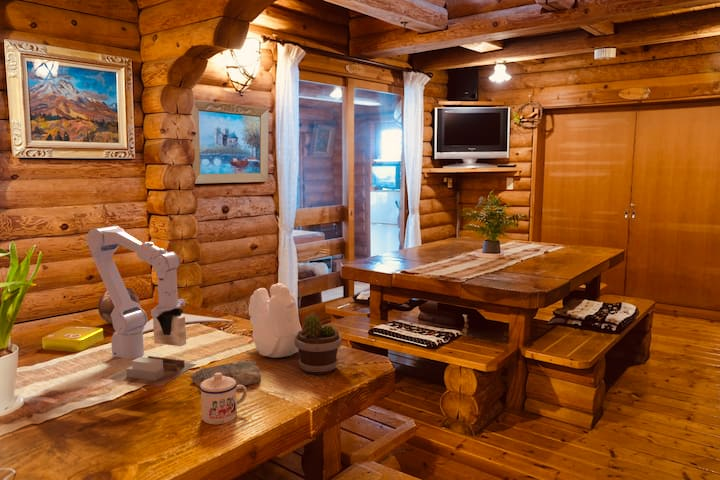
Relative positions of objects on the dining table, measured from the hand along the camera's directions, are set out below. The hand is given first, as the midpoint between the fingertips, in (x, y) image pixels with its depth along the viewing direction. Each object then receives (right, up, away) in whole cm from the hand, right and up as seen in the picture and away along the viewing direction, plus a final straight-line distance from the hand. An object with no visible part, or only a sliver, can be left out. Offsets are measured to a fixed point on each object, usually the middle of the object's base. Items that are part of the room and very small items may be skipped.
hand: (170, 333), depth 179 cm
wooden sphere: (-34, -4, +45) cm, 57 cm away
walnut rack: (-3, -12, -7) cm, 13 cm away
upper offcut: (-3, -9, -11) cm, 14 cm away
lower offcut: (-4, -11, -11) cm, 16 cm away
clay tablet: (+20, -13, -11) cm, 27 cm away
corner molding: (-8, -6, +37) cm, 39 cm away
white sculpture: (+31, -9, +14) cm, 35 cm away
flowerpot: (+47, -11, -2) cm, 48 cm away
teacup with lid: (+26, -16, -34) cm, 45 cm away
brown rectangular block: (0, -3, +1) cm, 3 cm away
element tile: (-41, -8, +22) cm, 47 cm away
